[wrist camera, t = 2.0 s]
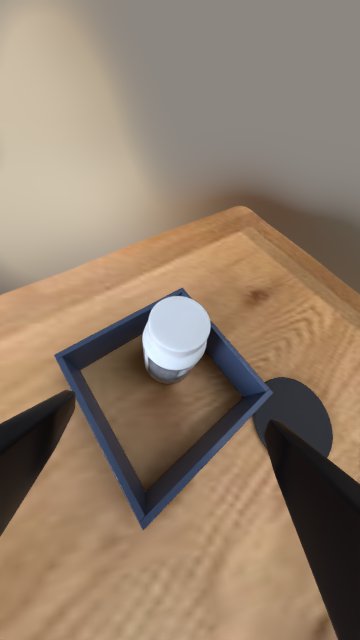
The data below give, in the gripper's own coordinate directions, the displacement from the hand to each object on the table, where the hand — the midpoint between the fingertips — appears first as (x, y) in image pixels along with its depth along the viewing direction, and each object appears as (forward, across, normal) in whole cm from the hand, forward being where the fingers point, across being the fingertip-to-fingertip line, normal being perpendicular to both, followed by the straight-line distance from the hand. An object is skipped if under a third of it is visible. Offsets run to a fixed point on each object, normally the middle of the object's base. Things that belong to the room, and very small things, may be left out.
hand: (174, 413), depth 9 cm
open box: (+11, 0, +6) cm, 13 cm away
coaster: (+10, -15, +8) cm, 19 cm away
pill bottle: (+13, 0, +5) cm, 14 cm away
